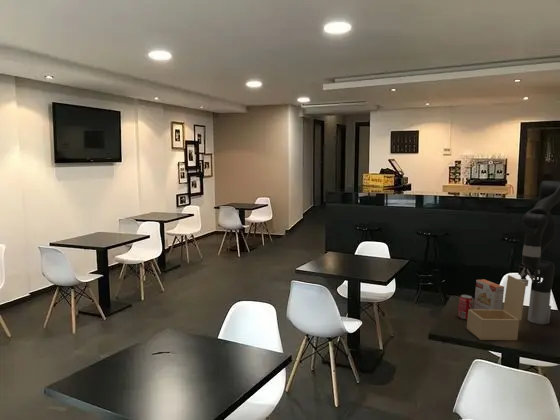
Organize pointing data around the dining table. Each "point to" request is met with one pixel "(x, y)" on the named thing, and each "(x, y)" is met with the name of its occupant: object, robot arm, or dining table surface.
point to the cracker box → (488, 295)
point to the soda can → (465, 306)
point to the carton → (492, 324)
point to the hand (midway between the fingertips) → (528, 287)
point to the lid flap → (515, 296)
